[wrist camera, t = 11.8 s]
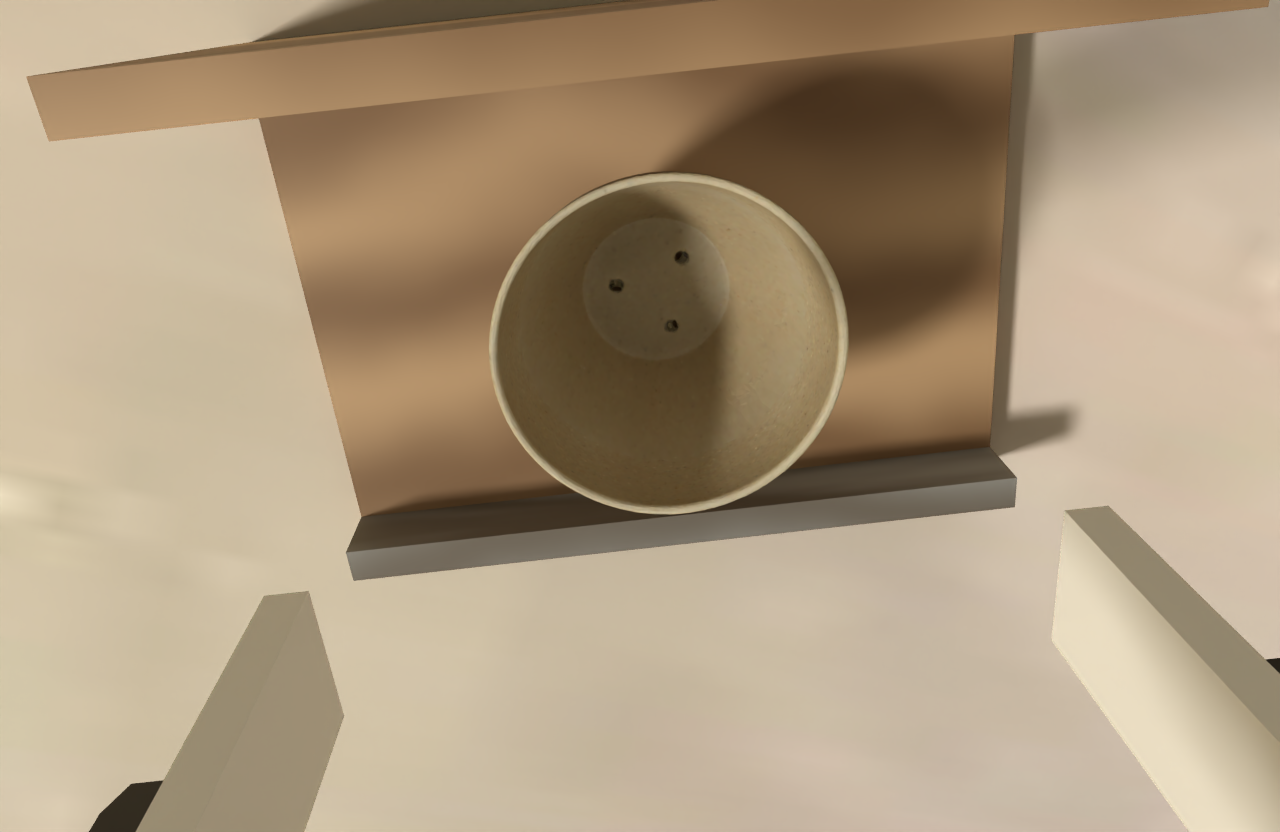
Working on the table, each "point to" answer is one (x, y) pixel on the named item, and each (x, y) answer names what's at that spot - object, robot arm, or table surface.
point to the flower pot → (668, 343)
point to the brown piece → (598, 154)
